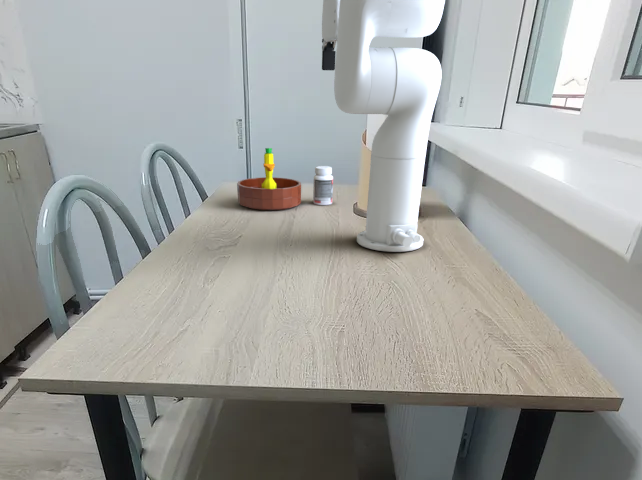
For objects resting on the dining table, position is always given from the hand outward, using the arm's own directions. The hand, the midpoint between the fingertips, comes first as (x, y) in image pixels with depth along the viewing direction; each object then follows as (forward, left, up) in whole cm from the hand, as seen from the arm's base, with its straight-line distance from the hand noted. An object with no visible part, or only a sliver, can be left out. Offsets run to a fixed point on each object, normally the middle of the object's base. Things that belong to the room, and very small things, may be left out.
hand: (335, 70), depth 124 cm
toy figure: (-6, +18, -28) cm, 34 cm away
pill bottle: (-8, +5, -28) cm, 30 cm away
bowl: (-6, +18, -28) cm, 34 cm away
